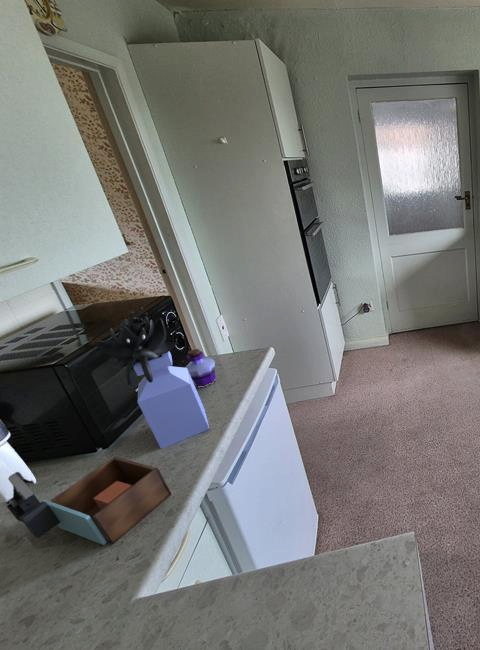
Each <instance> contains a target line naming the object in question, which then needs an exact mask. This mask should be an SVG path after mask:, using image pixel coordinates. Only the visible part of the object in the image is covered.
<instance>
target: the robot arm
mask: <svg viewBox="0 0 480 650" xmlns="http://www.w3.org/2000/svg"><path fill="white" fill-rule="evenodd" d="M9 438H11V432H10V430H9V429H8V428H7V426H6V425H5V423H4V422H3V421H2V419H0V504H5V505H6V508H7V509H8V510H9V512H10V513H11V514H12V515H13V516H14V518H15V520H17V521H19V522H22V520H21V519H20V518H19V517H20V516H21V515H23V514H24V513H26V512H27V511H29V510H30V509H32V508H33V507H35V506H36V505H38V504H39V503H41V501H39V499H38V498H37V496H36V495H35V493H34V491H32V489H31V488H30V486H34V485H35V484H37V479H36V477H35V475H34V474H33V471H31V469H30V468H29V467H28V465H27V464H26V463H25V461H24V460H23V458H21V456H20V455H19V454H18V453H17V451H15V449H14V448H13V447H12V446H11V444H10V443H9V442H8V440H9ZM22 523H23V522H22Z"/></svg>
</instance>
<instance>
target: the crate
mask: <svg viewBox="0 0 480 650" xmlns="http://www.w3.org/2000/svg"><path fill="white" fill-rule="evenodd" d="M116 481H119V482H123V483H126V484H129V485H132V487H130V488H129V489H128V490H126V491H125V492H124V493H123V494H121V495H120V496H119V497H117V498H116V499H115V500H114V501H112V502H111V503H110V504H108V505H107V506H106V507H104V508H103V509H102V510H100V508H99V507H98V505H97V503H96V502H95V500H94V499H93V498H94V497H96V496H97V495H98V494H100V493H101V492H103V491H104V490H105V489H107V488H108V487H109V486H111V485H112V484H113V483H115V482H116ZM170 496H172V492H171V489H169V486H168V484H167V482H166V481H165V479H164V477H163V475H162V473H161V470H160V469H159V468H158V467H155V466H152V465H148V464H144V463H141V462H137V461H133V460H130V459H126V458H124V457H123V458H122V457H119V456H115V455H114V456H113V457H112V458H110V459H109V460H107V461H106V462H104V463H103V464H101V465H100V466H98V467H97V468H96V469H94V470H93V471H91V472H90V473H88V474H87V475H86V476H84V477H82V478H81V479H80V480H78V481H77V482H75V483H74V484H72V485H71V486H69V487H67V488H66V489H65V490H63V491H62V492H60V493H59V494H58V495H56V496H55V497H53V498H51V499H50V502H53V503H56V504H58V505H61V506H64V507H67V508H69V509H72V510H75V511H78V512H80V513H83V514H86V515H89V516H90V518H91V519H92V521H93V522H94V524H95V525H96V527H97V528H98V530H99V531H100V533H101V534H102V536H103V537H104V539H105V540H106V542H107V543H109V544H113V545H114V544H116V543H117V542H118V541H119V540H120V539H122V538H123V537H124V536H125V535H126V534H127V533H129V532H130V531H131V530H132V529H133V528H135V526H136V525H137V524H140V522H142V520H144V519H145V518H146V517H147V516H148V515H150V513H152V512H153V511H154V510H155V509H157V507H159V506H160V505H161V504H162V503H163V502H164V501H166V500H167V499H168V498H169V497H170Z"/></svg>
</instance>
